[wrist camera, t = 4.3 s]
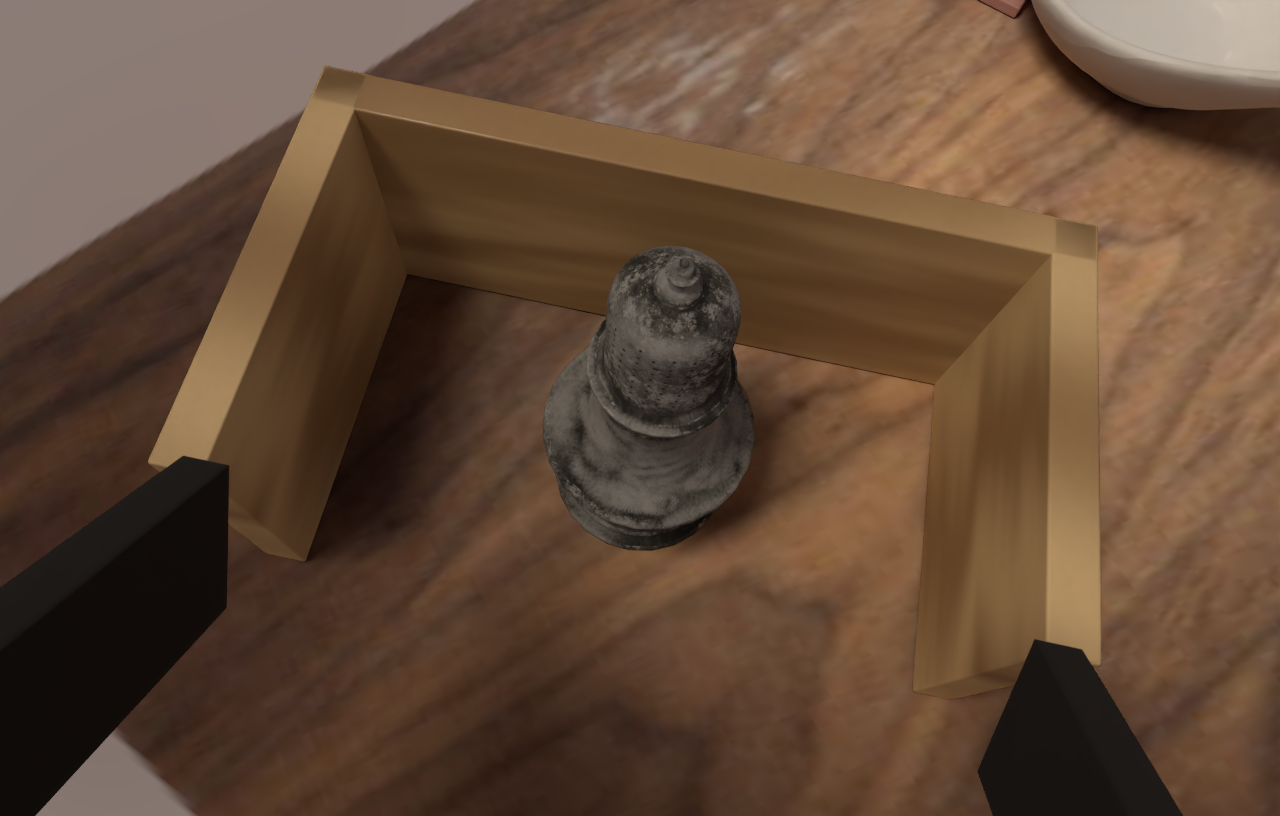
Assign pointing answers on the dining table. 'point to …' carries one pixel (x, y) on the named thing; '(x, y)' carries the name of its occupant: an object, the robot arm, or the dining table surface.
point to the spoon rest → (1173, 49)
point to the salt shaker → (654, 405)
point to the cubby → (770, 319)
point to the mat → (1006, 6)
